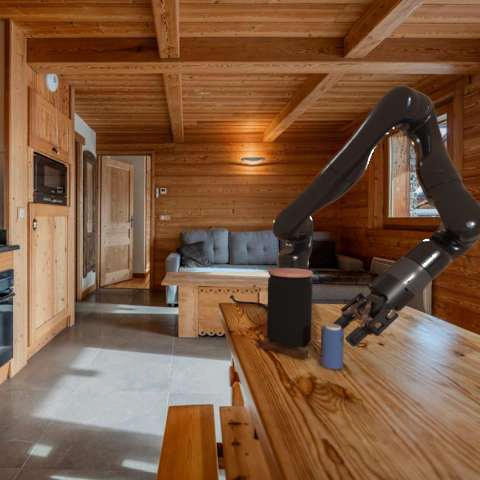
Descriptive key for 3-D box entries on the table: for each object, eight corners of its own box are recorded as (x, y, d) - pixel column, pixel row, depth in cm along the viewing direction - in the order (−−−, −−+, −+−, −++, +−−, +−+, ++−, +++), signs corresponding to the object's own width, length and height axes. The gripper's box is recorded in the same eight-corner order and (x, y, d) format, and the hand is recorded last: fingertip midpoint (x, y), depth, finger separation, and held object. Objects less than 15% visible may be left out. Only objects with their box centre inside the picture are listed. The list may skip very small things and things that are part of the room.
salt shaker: (317, 365, 82) (318, 325, 82) (325, 359, 85) (326, 321, 85) (338, 370, 79) (339, 329, 79) (346, 365, 82) (347, 325, 82)
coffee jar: (312, 338, 101) (314, 269, 100) (309, 350, 91) (311, 274, 90) (270, 332, 105) (271, 266, 104) (263, 344, 95) (264, 271, 94)
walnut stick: (258, 347, 93) (259, 341, 93) (264, 345, 95) (264, 339, 95) (303, 359, 85) (303, 352, 85) (308, 356, 87) (308, 350, 87)
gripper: (370, 266, 87) (317, 315, 89) (405, 275, 73) (341, 334, 75) (394, 290, 87) (340, 338, 89) (434, 304, 73) (368, 361, 75)
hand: (340, 336), depth 82 cm, fingers open, 8 cm apart
